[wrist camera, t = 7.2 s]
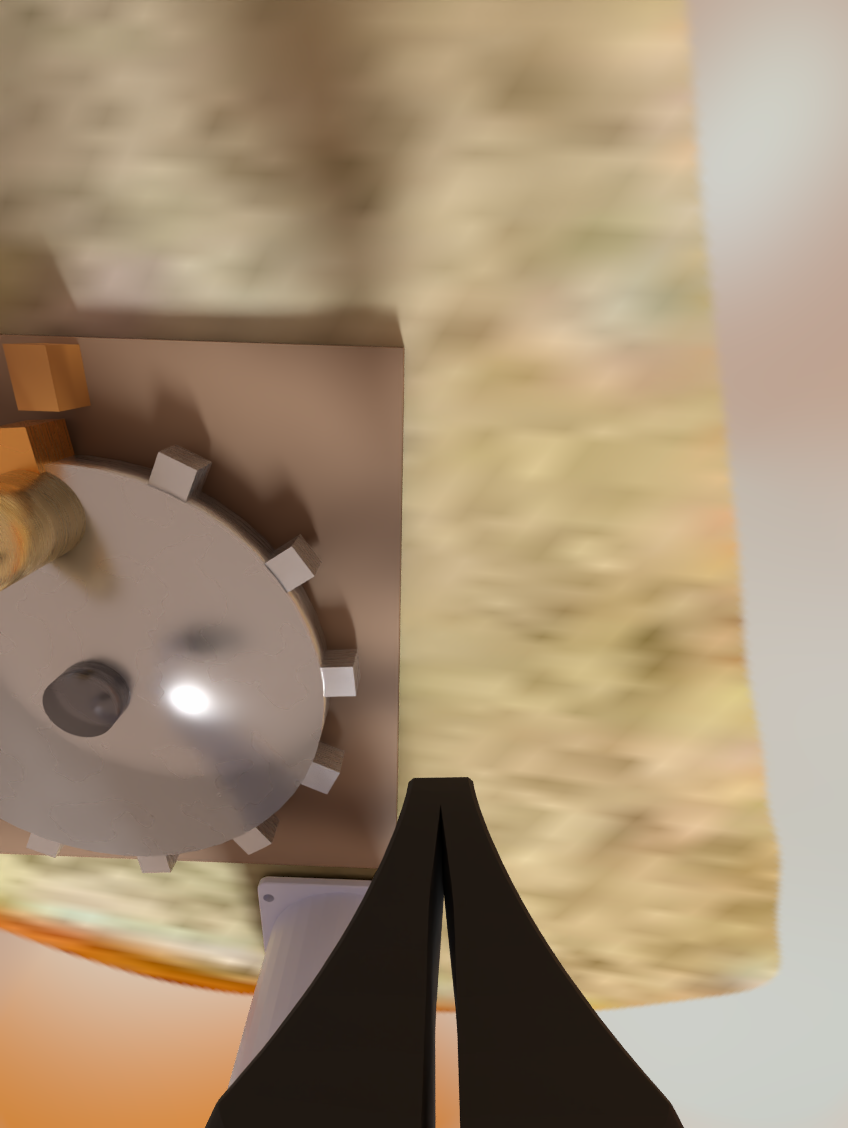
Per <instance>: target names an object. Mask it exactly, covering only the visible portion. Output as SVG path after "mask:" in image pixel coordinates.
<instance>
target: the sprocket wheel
mask: <svg viewBox="0 0 848 1128" xmlns="http://www.w3.org/2000/svg"><path fill="white" fill-rule="evenodd" d="M211 464H212V462H211V461H209V460H207V459H205V458H203V457H201V456H199V455H196V454H194V453H192V452H190V451H188V450H186V449H184V448H182V447H180V446H178V445H174V446H171V447H169V448H167V449H164V450H162V451H159V452H158V455H157V458H156V461H155V464H154V467H153V469H150V468H147V467H143V466H140V465H136V464H133V463H129V462H125V461H122V460H116V459H109V458H103V457H96V456H90V455H75V454H74V451H73V447H72V444H71V440H70V437H69V433H68V429H67V426H66V422H65V419H45V420H26V421H21V422H16V423H11V424H6V425H2V426H0V819H2V820H4V821H6V822H8V823H10V824H12V825H14V826H16V827H18V828H20V829H23V830H25V831H28V832H30V833H31V834H30V837H29V840H28V843H27V846H26V848H29V849H32V850H34V851H37V852H40V853H43V854H46V855H49V856H51V857H54V858H55V857H56V856H57V855H58V853H59V852H60V851H61V849H62V848H63V847H64V845H67V846H71V847H75V848H80V849H84V850H89V851H94V852H99V853H107V854H115V855H123V856H137V858H138V861H139V864H140V867H141V870H142V873H157V872H171V871H172V869H173V867H174V865H175V863H176V860H177V858H178V856H179V854H181V853H187V852H193V851H198V850H202V849H205V848H209V847H212V846H216V845H219V844H222V843H224V842H227V841H229V840H231V839H233V840H234V841H235V842H236V843H237V844H238V845H239V846H240V847H241V848H242V849H243V850H244V851H245V852H246V853H247V854H248V855H250V854H252V853H254V852H256V851H258V850H260V849H262V848H264V847H266V846H268V845H270V844H272V842H273V839H274V836H275V832H276V829H277V826H278V823H279V819H278V817H277V816H276V815H275V814H274V813H275V812H277V811H278V810H279V809H280V808H281V807H282V806H283V805H284V804H285V803H286V802H287V801H288V799H289V798H290V797H291V796H292V795H293V794H294V793H295V791H296V790H297V788H298V787H299V785H300V784H302V785H305V786H307V787H310V788H312V789H315V790H317V791H320V792H322V793H325V794H328V792H329V790H330V789H331V787H332V785H333V784H334V782H335V780H336V779H337V777H338V775H339V774H340V770H341V766H342V761H343V757H344V752H345V751H344V750H341V749H339V748H337V747H334V746H332V745H329V744H327V743H325V742H322V741H320V737H321V734H322V730H323V727H324V723H325V719H326V716H327V712H328V708H329V700H330V697H337V696H356V694H357V689H358V685H359V680H360V669H359V659H358V649H329V650H327V645H326V640H325V636H324V633H323V630H322V627H321V624H320V622H319V619H318V616H317V613H316V611H315V609H314V607H313V605H312V603H311V601H310V599H309V597H308V595H307V593H306V591H305V589H304V587H303V586H302V583H304V582H306V581H307V580H309V579H311V578H312V577H314V576H315V574H316V572H317V570H318V568H319V566H320V564H321V561H320V559H319V558H318V557H317V555H316V554H315V553H314V551H313V550H312V549H311V547H310V546H309V545H308V543H307V542H306V541H305V539H304V538H303V537H302V535H301V534H299V535H298V536H296V537H295V538H293V539H292V540H290V541H288V542H287V543H285V544H284V545H282V546H280V547H279V548H277V549H276V550H275V549H274V548H273V547H272V546H271V544H270V543H269V542H268V541H267V540H266V539H265V538H264V537H263V536H262V535H261V534H259V533H258V532H257V531H256V530H255V529H254V528H253V527H252V526H251V525H249V524H248V523H247V522H246V521H245V520H244V519H243V518H242V517H240V516H239V515H237V514H236V513H234V512H233V511H232V510H230V509H229V508H227V507H226V506H225V505H223V504H222V503H220V502H219V501H218V500H216V499H215V498H213V497H211V496H209V495H207V494H206V493H204V492H202V488H203V485H204V483H205V480H206V477H207V475H208V472H209V469H210V467H211Z"/></svg>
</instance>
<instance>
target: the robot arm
mask: <svg viewBox="0 0 848 1128" xmlns="http://www.w3.org/2000/svg"><path fill="white" fill-rule="evenodd" d="M258 898H259V906H260V914H261V923H262V931H263V940H264V948H265V956H264V960H263V963H262V967H261V970H260V974H259V978H258V981H257V985H256V989H255V992H254V996H253V999H252V1003H251V1007H250V1010H249V1014H248V1017H247V1021H246V1025H245V1028H244V1032H243V1035H242V1039H241V1043H240V1046H239V1050H238V1053H237V1057H236V1061H235V1065H234V1068H233V1071H232V1075H231V1079H230V1083H229V1086H228V1090H227V1091H226V1092H225V1093H224V1094H223V1095H222V1096H221V1098H220V1099H219V1100H218V1102H217V1104H216V1105H215V1108H214V1110H213V1112H212V1114H211V1116H210V1118H209V1120H208V1122H207V1124H206V1127H205V1128H435V1021H436V1002H437V987H438V973H439V959H440V945H441V930H442V916H443V901H444V899H445V909H446V919H447V929H448V939H449V948H450V958H451V968H452V977H453V987H454V997H455V1007H456V1019H457V1033H458V1067H459V1100H460V1128H684V1127H683V1125H682V1123H681V1121H680V1119H679V1117H678V1115H677V1114H676V1112H675V1110H674V1108H673V1106H672V1104H671V1103H670V1101H669V1100H668V1099H667V1098H666V1097H665V1096H664V1094H663V1093H662V1092H661V1091H660V1090H659V1089H658V1088H657V1086H656V1085H655V1084H654V1083H653V1082H652V1081H651V1080H650V1078H649V1077H648V1076H647V1075H646V1074H645V1073H644V1072H643V1070H642V1069H641V1068H640V1067H639V1066H638V1065H637V1063H636V1062H635V1061H634V1060H633V1058H632V1057H631V1056H630V1055H629V1054H628V1053H627V1051H626V1050H625V1049H624V1048H623V1047H622V1045H621V1044H620V1043H619V1041H617V1039H616V1038H615V1036H614V1035H613V1034H612V1033H611V1031H610V1030H609V1029H608V1028H607V1026H606V1025H605V1024H604V1023H603V1021H602V1020H601V1019H600V1018H599V1016H598V1015H597V1013H596V1012H595V1011H594V1009H593V1008H592V1007H591V1005H590V1004H589V1002H588V1001H587V1000H586V998H585V997H584V996H583V994H582V993H581V991H580V990H579V989H578V987H577V986H576V985H575V983H574V982H573V980H572V979H571V978H570V976H569V975H568V974H567V972H566V971H565V969H564V968H563V966H562V965H561V963H560V962H559V960H558V959H557V957H556V956H555V954H554V953H553V951H552V950H551V948H550V947H549V945H548V944H547V942H546V940H545V939H544V937H543V935H542V934H541V932H540V931H539V929H538V927H537V926H536V924H535V922H534V921H533V919H532V917H531V916H530V914H529V912H528V910H527V909H526V907H525V905H524V903H523V901H522V900H521V898H520V896H519V894H518V892H517V890H516V888H515V887H514V885H513V883H512V881H511V879H510V877H509V875H508V873H507V871H506V869H505V867H504V865H503V863H502V861H501V858H500V856H499V854H498V852H497V850H496V847H495V845H494V843H493V841H492V838H491V836H490V834H489V831H488V829H487V826H486V824H485V821H484V818H483V816H482V813H481V810H480V807H479V804H478V801H477V797H476V793H475V790H474V784H473V781H472V780H471V779H470V778H468V777H452V778H413V779H412V780H411V781H410V782H409V783H408V788H407V793H406V797H405V800H404V804H403V807H402V810H401V813H400V816H399V819H398V822H397V824H396V827H395V830H394V832H393V835H392V837H391V839H390V842H389V844H388V847H387V849H386V851H385V854H384V856H383V858H382V861H381V863H380V865H379V867H378V869H377V871H376V873H375V875H374V877H373V879H372V880H349V879H324V878H299V877H274V876H268V877H264V878H262V879H261V880H260V882H259V885H258Z"/></svg>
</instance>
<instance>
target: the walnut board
mask: <svg viewBox="0 0 848 1128" xmlns="http://www.w3.org/2000/svg"><path fill="white" fill-rule="evenodd" d="M404 349H405V348H401V347H370V346H339V345H309V344H278V343H248V342H217V341H187V340H156V339H126V338H95V337H65V336H34V335H4V334H0V426H2V425H6V424H11V423H16V422H21V421H26V420H45V419H65V422H66V426H67V429H68V433H69V437H70V440H71V444H72V447H73V451H74V454H75V455H90V456H96V457H103V458H109V459H116V460H122V461H125V462H129V463H133V464H136V465H140V466H143V467H147V468H150V469H153V467H154V464H155V461H156V458H157V455H158V452H159V451H162V450H164V449H167V448H169V447H171V446H174V445H178V446H180V447H182V448H184V449H186V450H188V451H190V452H192V453H194V454H196V455H199V456H201V457H203V458H205V459H207V460H209V461H211V462H212V464H211V467H210V469H209V472H208V475H207V477H206V480H205V483H204V485H203V488H202V492H204V493H206V494H207V495H209V496H211V497H213V498H215V499H216V500H218V501H219V502H220V503H222V504H223V505H225V506H226V507H227V508H229V509H230V510H232V511H233V512H234V513H236V514H237V515H239V516H240V517H242V518H243V519H244V520H245V521H246V522H247V523H248V524H249V525H251V526H252V527H253V528H254V529H255V530H256V531H257V532H258V533H259V534H261V535H262V536H263V537H264V538H265V539H266V540H267V541H268V542H269V543H270V544H271V546H272V547H273V548H274V549H275V550H276V549H277V548H279V547H280V546H282V545H284V544H285V543H287V542H288V541H290V540H292V539H293V538H295V537H296V536H298V535H299V534H301V535H302V537H303V538H304V539H305V541H306V542H307V543H308V545H309V546H310V547H311V549H312V550H313V551H314V553H315V554H316V555H317V557H318V558H319V559H320V561H321V564H320V566H319V568H318V570H317V572H316V574H315V576H314V577H312V578H311V579H309V580H307V581H306V582H304V583H302V586H303V587H304V589H305V591H306V593H307V595H308V597H309V599H310V601H311V603H312V605H313V607H314V609H315V611H316V613H317V616H318V619H319V622H320V624H321V627H322V630H323V633H324V636H325V640H326V645H327V650H329V649H358V659H359V669H360V680H359V685H358V689H357V694H356V696H337V697H330V700H329V708H328V712H327V716H326V719H325V723H324V727H323V730H322V734H321V737H320V741H322V742H325V743H327V744H329V745H332V746H334V747H337V748H339V749H341V750H344V751H345V752H344V757H343V761H342V766H341V770H340V774H339V775H338V777H337V779H336V780H335V782H334V784H333V785H332V787H331V789H330V790H329V792H328V794H325V793H322V792H320V791H317V790H315V789H312V788H310V787H307V786H305V785H302V784H300V785H299V787H298V788H297V790H296V791H295V793H294V794H293V795H292V796H291V797H290V798H289V799H288V801H287V802H286V803H285V804H284V805H283V806H282V807H281V808H280V809H279V810H278V811H277V812H275V813H274V814H275V815H276V816H277V817H278V819H279V823H278V826H277V829H276V832H275V836H274V839H273V842H272V844H270V845H268V846H266V847H264V848H262V849H260V850H258V851H256V852H254V853H252V854H250V855H248V854H247V853H246V852H245V851H244V850H243V849H242V848H241V847H240V846H239V845H238V844H237V843H236V842H235V841H234V840H233V839H231V840H229V841H227V842H224V843H222V844H219V845H216V846H212V847H209V848H205V849H202V850H198V851H193V852H187V853H181V854H179V856H178V858H177V860H178V861H203V862H228V863H254V864H279V865H304V866H329V867H355V868H378V867H379V865H380V863H381V861H382V858H383V856H384V854H385V851H386V849H387V847H388V844H389V842H390V839H391V837H392V835H393V832H394V830H395V827H396V824H397V793H398V730H399V666H400V603H401V539H402V476H403V412H404ZM30 834H31V833H30V832H28V831H25V830H23V829H20V828H18V827H16V826H14V825H12V824H10V823H8V822H6V821H4V820H2V819H0V853H1V854H26V855H46V854H43V853H40V852H37V851H34V850H32V849H29V848H26V846H27V843H28V840H29V837H30ZM57 856H77V857H102V858H127V859H138V858H137V856H123V855H115V854H107V853H99V852H94V851H89V850H84V849H80V848H75V847H71V846H67V845H64V847H63V848H62V849H61V851H60V852H59V853H58V855H57Z"/></svg>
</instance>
